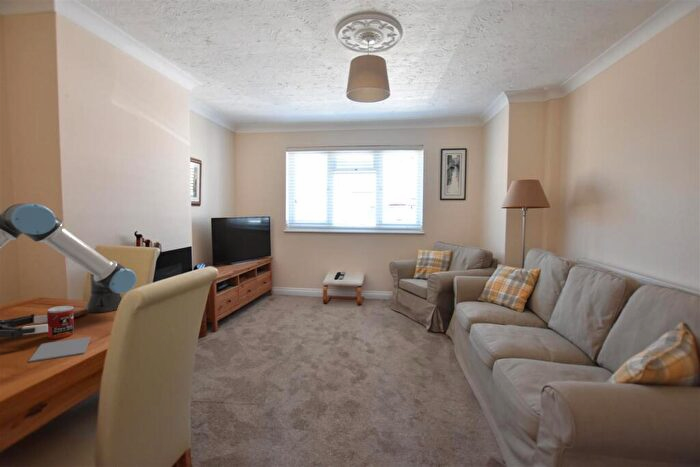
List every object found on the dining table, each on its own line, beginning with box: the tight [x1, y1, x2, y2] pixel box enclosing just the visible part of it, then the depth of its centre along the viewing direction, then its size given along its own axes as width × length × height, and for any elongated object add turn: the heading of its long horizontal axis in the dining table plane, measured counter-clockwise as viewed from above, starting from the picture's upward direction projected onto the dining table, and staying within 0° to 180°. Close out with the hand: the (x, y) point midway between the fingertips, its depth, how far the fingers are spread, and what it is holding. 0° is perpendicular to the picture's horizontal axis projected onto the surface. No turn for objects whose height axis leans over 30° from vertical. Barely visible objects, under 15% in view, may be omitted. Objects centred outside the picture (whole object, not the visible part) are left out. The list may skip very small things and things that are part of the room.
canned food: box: [46, 305, 75, 340], centre depth 127 cm, size 8×8×11 cm
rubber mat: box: [28, 336, 91, 363], centre depth 115 cm, size 16×14×1 cm
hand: (52, 322), depth 125 cm, fingers open, 13 cm apart
